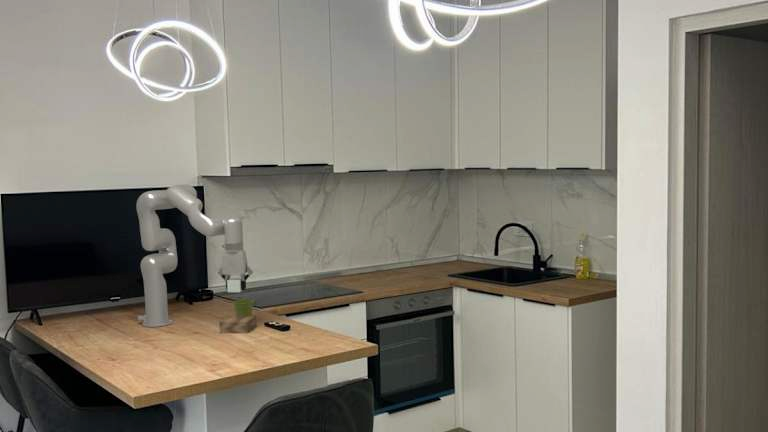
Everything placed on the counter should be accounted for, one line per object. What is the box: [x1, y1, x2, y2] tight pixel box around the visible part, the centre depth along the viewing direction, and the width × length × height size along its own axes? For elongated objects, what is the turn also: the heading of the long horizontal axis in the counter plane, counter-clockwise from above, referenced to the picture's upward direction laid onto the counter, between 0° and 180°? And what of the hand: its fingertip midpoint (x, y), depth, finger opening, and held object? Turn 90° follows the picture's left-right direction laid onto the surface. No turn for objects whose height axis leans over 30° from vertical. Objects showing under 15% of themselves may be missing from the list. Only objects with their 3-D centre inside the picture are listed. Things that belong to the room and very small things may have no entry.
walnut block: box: [218, 315, 257, 334], centre depth 309 cm, size 12×12×5 cm
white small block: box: [227, 277, 245, 293], centre depth 308 cm, size 6×6×5 cm
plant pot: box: [232, 299, 255, 317], centre depth 330 cm, size 9×9×9 cm
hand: (236, 289), depth 309 cm, fingers closed on white small block, 5 cm apart
